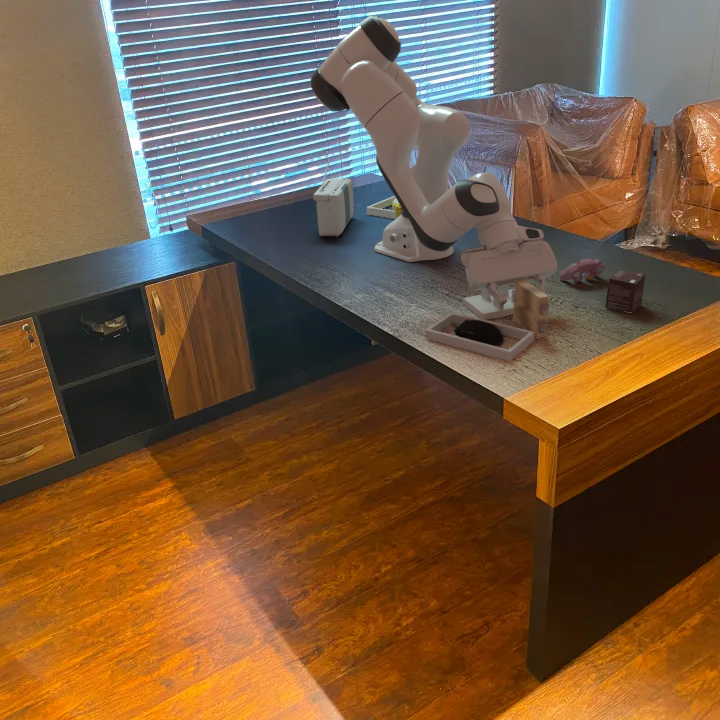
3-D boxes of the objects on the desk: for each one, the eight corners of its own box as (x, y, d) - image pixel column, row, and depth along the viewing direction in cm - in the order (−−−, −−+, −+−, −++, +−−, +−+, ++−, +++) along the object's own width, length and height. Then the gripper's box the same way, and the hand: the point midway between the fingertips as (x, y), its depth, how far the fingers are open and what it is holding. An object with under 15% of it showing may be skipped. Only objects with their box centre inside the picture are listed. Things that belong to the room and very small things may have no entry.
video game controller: (564, 290, 172) (573, 270, 166) (556, 277, 174) (565, 256, 168) (600, 284, 174) (611, 264, 168) (592, 271, 176) (602, 251, 171)
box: (615, 299, 161) (619, 269, 158) (641, 305, 158) (646, 274, 154) (604, 308, 157) (608, 277, 154) (631, 314, 154) (635, 283, 150)
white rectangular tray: (366, 214, 233) (366, 207, 232) (402, 199, 247) (402, 192, 246) (432, 225, 219) (432, 217, 217) (466, 208, 233) (466, 201, 232)
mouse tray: (425, 338, 149) (424, 329, 148) (451, 320, 156) (451, 312, 155) (509, 361, 138) (510, 352, 137) (533, 340, 145) (534, 332, 144)
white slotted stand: (463, 303, 164) (463, 285, 162) (517, 293, 167) (517, 275, 165) (483, 320, 155) (483, 301, 153) (539, 309, 159) (540, 290, 157)
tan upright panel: (513, 320, 155) (515, 281, 150) (521, 318, 155) (523, 279, 151) (540, 340, 145) (543, 299, 141) (548, 338, 146) (551, 298, 141)
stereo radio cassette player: (342, 238, 213) (337, 171, 203) (315, 238, 214) (310, 171, 205) (355, 218, 231) (351, 155, 221) (330, 218, 232) (325, 156, 223)
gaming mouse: (459, 321, 156) (459, 304, 154) (510, 343, 146) (510, 325, 144) (438, 330, 153) (438, 313, 151) (488, 352, 142) (488, 335, 140)
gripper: (463, 242, 149) (483, 302, 145) (548, 229, 154) (570, 286, 150) (453, 256, 155) (472, 314, 151) (536, 243, 160) (557, 298, 156)
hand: (522, 300), depth 151 cm, fingers open, 8 cm apart
